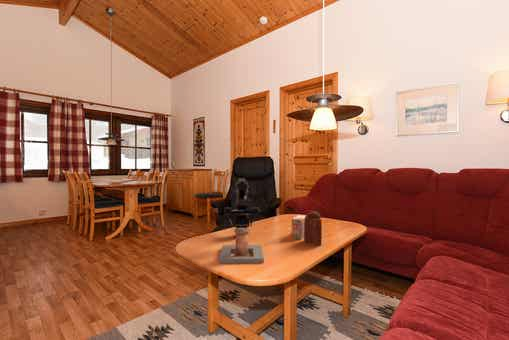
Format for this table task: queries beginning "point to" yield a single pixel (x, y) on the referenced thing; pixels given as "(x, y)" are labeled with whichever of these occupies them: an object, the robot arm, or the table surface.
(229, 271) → the table surface
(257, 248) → the gray square frame
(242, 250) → the cord spool
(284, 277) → the table surface
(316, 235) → the wooden figurine
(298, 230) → the stack of blocks
